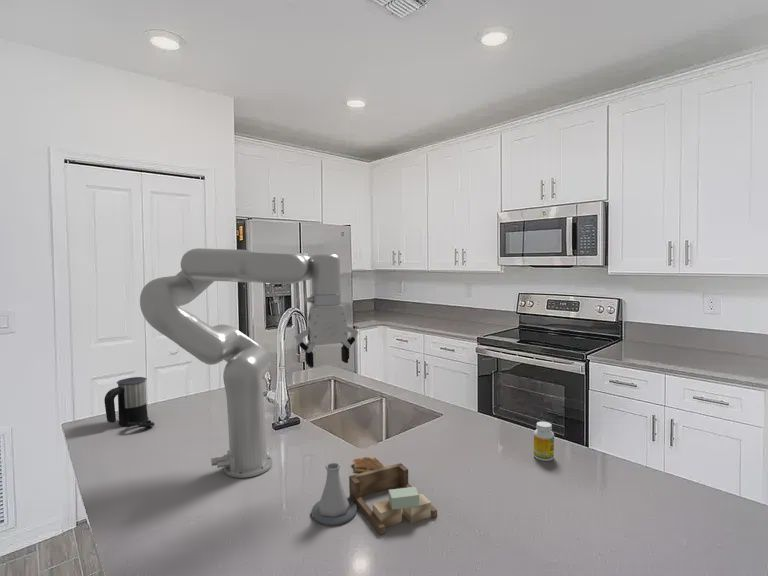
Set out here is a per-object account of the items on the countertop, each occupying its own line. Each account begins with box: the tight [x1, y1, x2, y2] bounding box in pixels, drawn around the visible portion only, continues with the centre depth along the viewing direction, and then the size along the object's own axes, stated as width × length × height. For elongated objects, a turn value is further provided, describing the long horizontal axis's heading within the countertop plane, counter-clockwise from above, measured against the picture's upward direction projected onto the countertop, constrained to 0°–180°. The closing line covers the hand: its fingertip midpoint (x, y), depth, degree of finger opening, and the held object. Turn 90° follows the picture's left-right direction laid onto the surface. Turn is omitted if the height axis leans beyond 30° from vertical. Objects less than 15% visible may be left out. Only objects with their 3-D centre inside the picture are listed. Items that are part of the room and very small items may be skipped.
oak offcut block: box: [372, 498, 403, 528], centre depth 97 cm, size 5×4×4 cm
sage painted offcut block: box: [388, 486, 420, 510], centre depth 98 cm, size 6×4×2 cm, turn 101°
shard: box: [352, 456, 385, 473], centre depth 120 cm, size 11×8×2 cm
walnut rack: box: [348, 462, 438, 536], centre depth 103 cm, size 14×17×5 cm
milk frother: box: [104, 376, 155, 429], centre depth 154 cm, size 14×16×15 cm
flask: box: [318, 462, 350, 517], centre depth 100 cm, size 7×7×10 cm
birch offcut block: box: [402, 493, 432, 524], centre depth 99 cm, size 5×4×4 cm
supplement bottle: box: [533, 421, 555, 462], centre depth 126 cm, size 5×5×10 cm
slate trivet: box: [311, 497, 358, 527], centre depth 101 cm, size 10×10×1 cm
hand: (327, 364), depth 120 cm, fingers open, 9 cm apart
